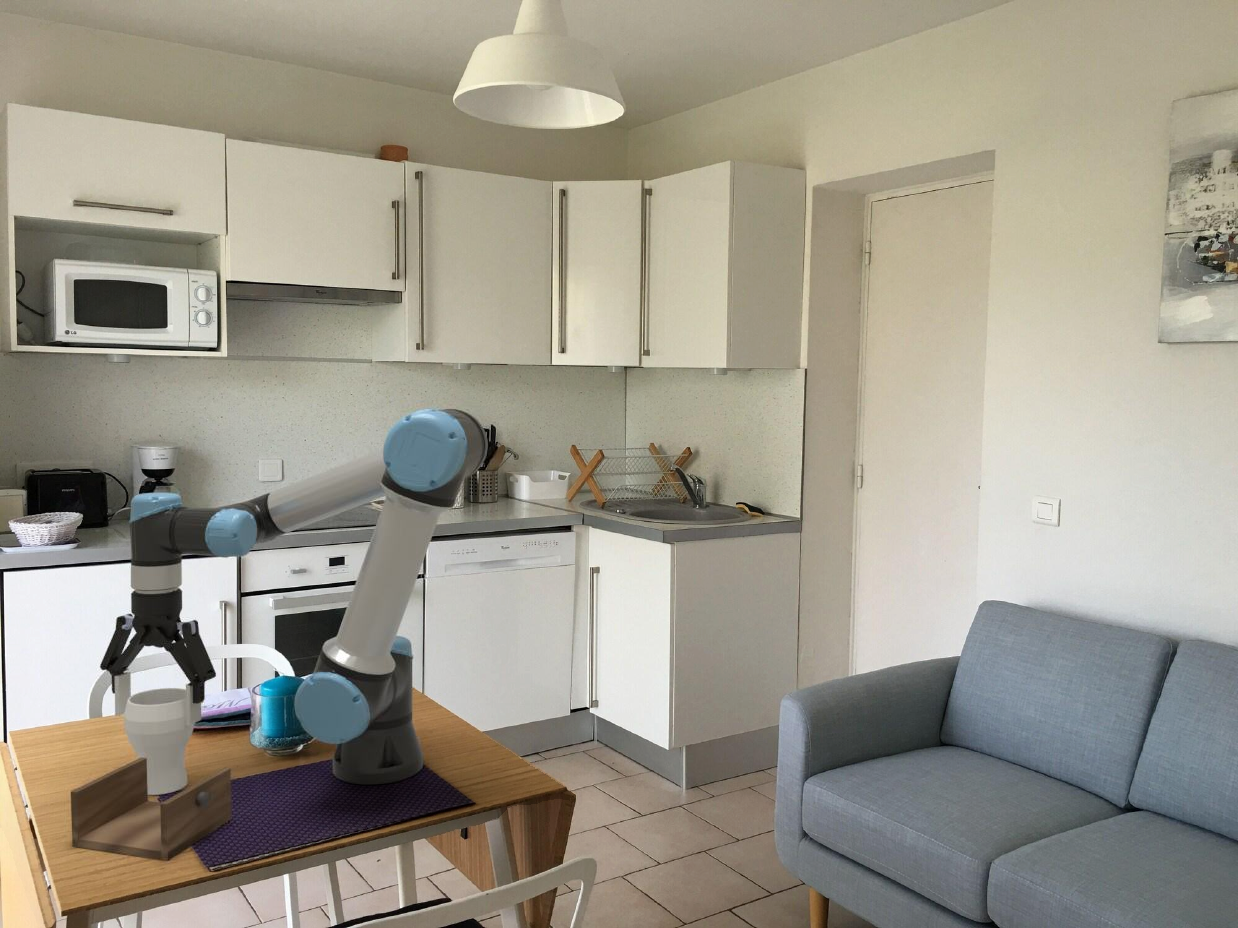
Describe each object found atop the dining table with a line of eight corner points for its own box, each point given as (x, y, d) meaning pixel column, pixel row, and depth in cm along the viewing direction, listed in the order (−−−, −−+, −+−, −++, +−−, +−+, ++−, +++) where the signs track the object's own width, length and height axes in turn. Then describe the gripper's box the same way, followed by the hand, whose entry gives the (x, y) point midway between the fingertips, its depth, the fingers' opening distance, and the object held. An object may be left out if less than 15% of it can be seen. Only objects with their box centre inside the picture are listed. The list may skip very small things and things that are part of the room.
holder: (237, 820, 154) (236, 768, 153) (173, 861, 140) (172, 805, 140) (137, 806, 159) (135, 756, 158) (66, 845, 145) (64, 790, 144)
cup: (177, 769, 174) (175, 682, 173) (209, 784, 168) (207, 695, 166) (114, 787, 166) (111, 697, 165) (145, 804, 159) (142, 710, 158)
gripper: (238, 590, 165) (238, 718, 166) (109, 579, 171) (111, 702, 173) (208, 599, 158) (208, 733, 159) (74, 587, 164) (77, 716, 166)
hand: (158, 717), depth 166 cm, fingers open, 13 cm apart
